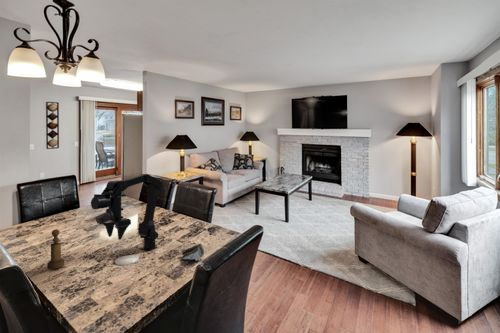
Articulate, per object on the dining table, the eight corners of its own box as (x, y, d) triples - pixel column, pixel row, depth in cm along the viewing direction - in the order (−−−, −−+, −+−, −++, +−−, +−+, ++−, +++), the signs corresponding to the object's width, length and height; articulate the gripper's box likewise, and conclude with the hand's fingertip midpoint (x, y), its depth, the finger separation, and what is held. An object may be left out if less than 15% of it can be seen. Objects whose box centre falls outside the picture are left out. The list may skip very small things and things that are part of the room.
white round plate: (110, 262, 126) (110, 260, 126) (131, 255, 135) (131, 253, 135) (122, 267, 120) (122, 264, 120) (143, 259, 129) (143, 257, 129)
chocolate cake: (176, 261, 126) (193, 246, 124) (180, 252, 133) (195, 238, 131) (190, 272, 128) (207, 258, 126) (193, 263, 135) (208, 250, 133)
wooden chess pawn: (67, 263, 125) (67, 227, 125) (58, 268, 118) (57, 231, 118) (54, 263, 125) (53, 228, 125) (43, 269, 118) (43, 231, 118)
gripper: (88, 206, 121) (88, 238, 121) (107, 210, 111) (107, 245, 111) (111, 204, 130) (111, 233, 130) (131, 207, 120) (131, 239, 120)
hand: (114, 238), depth 123 cm, fingers open, 9 cm apart
